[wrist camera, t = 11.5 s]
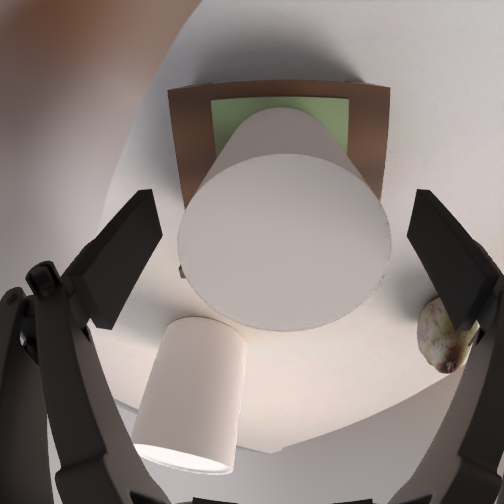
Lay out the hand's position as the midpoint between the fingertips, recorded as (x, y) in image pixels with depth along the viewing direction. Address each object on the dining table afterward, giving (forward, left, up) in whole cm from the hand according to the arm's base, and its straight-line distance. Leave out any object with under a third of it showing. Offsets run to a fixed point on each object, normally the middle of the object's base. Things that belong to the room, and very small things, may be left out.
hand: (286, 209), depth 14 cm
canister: (+31, -12, -15) cm, 37 cm away
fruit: (+23, +24, -15) cm, 37 cm away
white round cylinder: (0, 0, -9) cm, 9 cm away
